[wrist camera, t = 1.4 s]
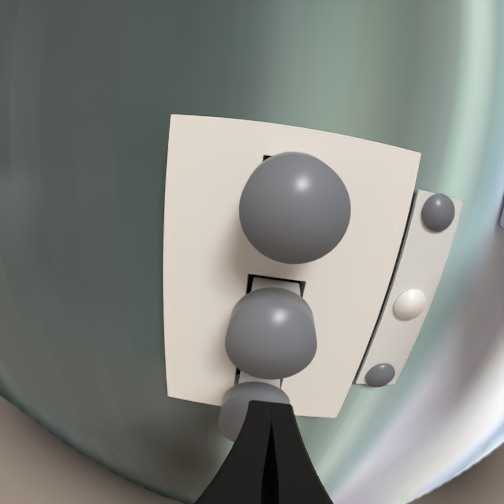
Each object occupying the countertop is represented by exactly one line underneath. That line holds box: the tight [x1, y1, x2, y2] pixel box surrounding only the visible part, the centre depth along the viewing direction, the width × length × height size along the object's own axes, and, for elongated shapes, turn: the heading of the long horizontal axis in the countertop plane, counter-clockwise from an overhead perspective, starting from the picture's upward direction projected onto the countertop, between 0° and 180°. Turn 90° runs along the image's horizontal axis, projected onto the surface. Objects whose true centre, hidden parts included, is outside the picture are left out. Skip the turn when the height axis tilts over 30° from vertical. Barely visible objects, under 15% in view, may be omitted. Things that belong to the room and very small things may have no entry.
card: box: [355, 189, 463, 387], centre depth 19 cm, size 3×14×1 cm, turn 173°
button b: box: [225, 277, 317, 380], centre depth 16 cm, size 4×4×4 cm
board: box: [163, 115, 421, 418], centre depth 18 cm, size 12×18×2 cm, turn 173°
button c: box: [218, 371, 290, 442], centre depth 18 cm, size 4×4×4 cm
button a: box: [239, 152, 351, 264], centre depth 13 cm, size 4×4×4 cm
